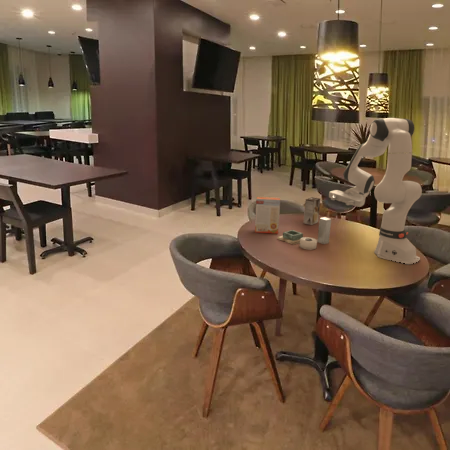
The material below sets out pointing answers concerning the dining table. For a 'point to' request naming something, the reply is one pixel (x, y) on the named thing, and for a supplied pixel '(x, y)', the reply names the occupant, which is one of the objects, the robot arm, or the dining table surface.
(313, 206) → the coffee box
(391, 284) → the dining table surface
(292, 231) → the square socket board
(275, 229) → the cracker box
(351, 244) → the dining table surface
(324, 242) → the square bit
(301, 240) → the round bore block
